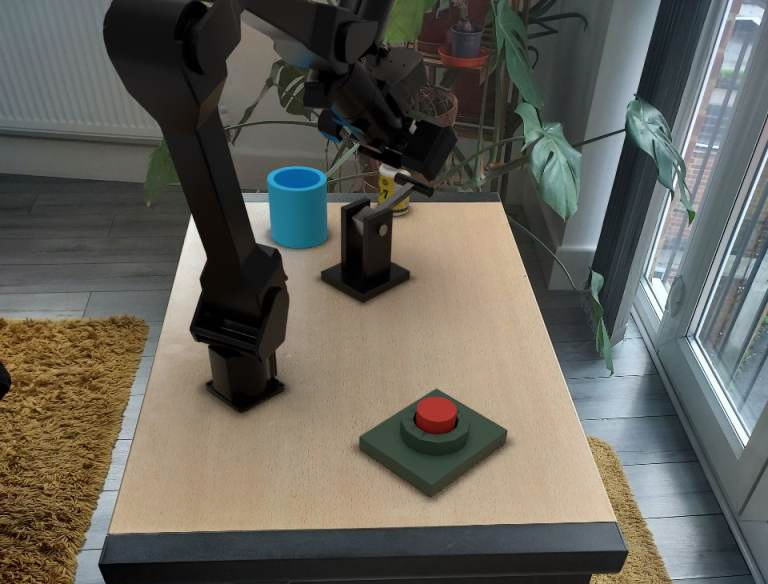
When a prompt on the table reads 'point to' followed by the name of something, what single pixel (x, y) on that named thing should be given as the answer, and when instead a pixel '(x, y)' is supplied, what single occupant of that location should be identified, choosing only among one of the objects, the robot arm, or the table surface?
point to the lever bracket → (365, 255)
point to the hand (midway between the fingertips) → (414, 167)
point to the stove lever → (394, 198)
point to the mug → (298, 206)
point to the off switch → (432, 445)
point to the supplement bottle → (391, 188)
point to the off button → (436, 415)
